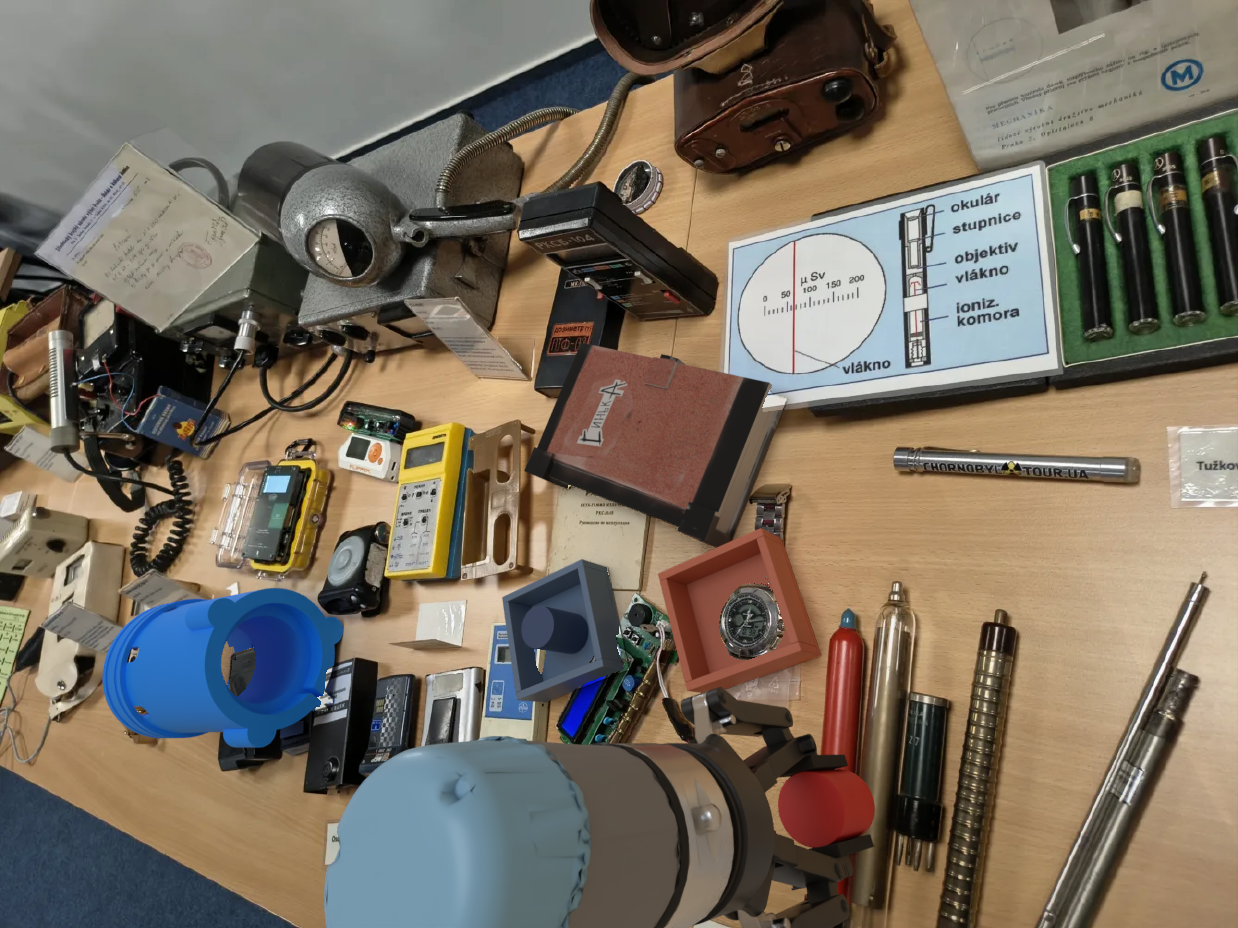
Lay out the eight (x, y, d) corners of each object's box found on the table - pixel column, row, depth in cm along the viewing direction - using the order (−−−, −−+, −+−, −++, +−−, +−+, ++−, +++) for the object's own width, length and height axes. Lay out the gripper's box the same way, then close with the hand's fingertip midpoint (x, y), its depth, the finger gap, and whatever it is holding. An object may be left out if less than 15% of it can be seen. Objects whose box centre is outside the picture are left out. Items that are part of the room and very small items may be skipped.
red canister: (884, 831, 50) (855, 840, 46) (823, 844, 52) (789, 854, 47) (861, 762, 52) (831, 763, 48) (803, 777, 54) (769, 779, 49)
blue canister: (592, 646, 81) (556, 640, 77) (560, 659, 83) (524, 654, 78) (584, 607, 83) (549, 599, 79) (554, 621, 85) (518, 613, 81)
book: (790, 392, 77) (770, 374, 74) (727, 551, 76) (704, 541, 72) (604, 352, 94) (580, 335, 90) (551, 482, 93) (524, 471, 89)
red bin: (821, 655, 68) (801, 650, 64) (711, 694, 73) (686, 691, 69) (782, 538, 73) (761, 527, 70) (682, 581, 78) (657, 573, 74)
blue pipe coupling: (269, 658, 123) (187, 770, 110) (165, 570, 113) (60, 681, 99) (368, 647, 110) (289, 772, 97) (260, 546, 100) (155, 670, 86)
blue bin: (630, 669, 79) (603, 665, 75) (545, 702, 84) (516, 700, 80) (607, 567, 84) (581, 558, 80) (529, 603, 89) (501, 596, 85)
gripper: (801, 1066, 28) (945, 942, 46) (689, 618, 36) (848, 662, 54) (637, 1079, 31) (831, 959, 49) (568, 665, 40) (756, 691, 58)
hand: (840, 803), depth 52 cm, fingers closed on red canister, 4 cm apart
